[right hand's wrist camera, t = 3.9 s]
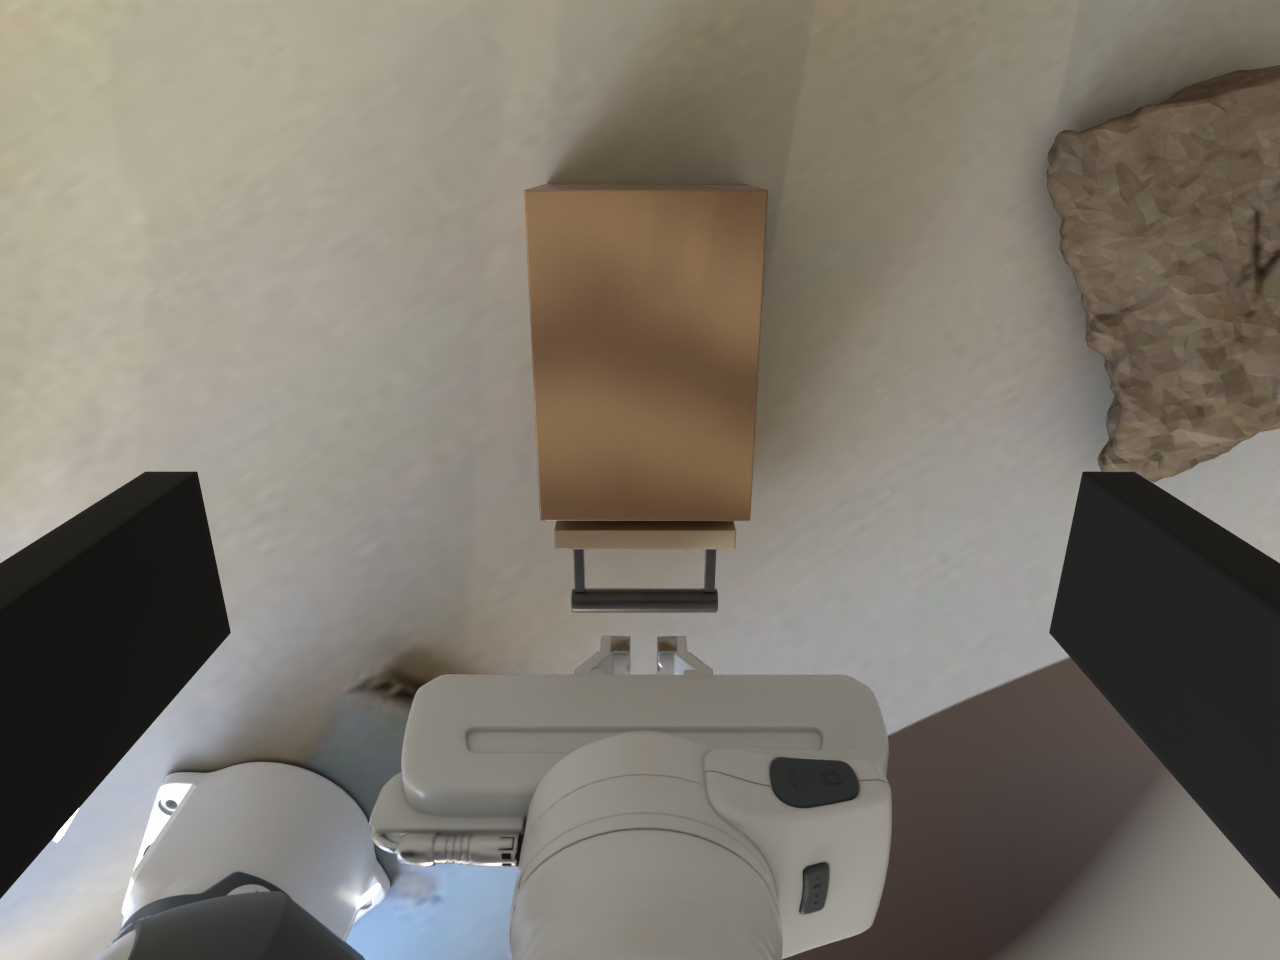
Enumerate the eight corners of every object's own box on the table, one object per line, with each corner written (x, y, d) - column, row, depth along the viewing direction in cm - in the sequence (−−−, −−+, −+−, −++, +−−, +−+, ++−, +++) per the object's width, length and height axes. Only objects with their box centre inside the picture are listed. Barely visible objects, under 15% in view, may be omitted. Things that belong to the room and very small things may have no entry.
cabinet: (733, 465, 52) (750, 521, 44) (555, 465, 52) (540, 521, 44) (746, 184, 46) (768, 189, 38) (544, 184, 46) (524, 189, 38)
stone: (1378, 418, 47) (1444, 443, 42) (1095, 480, 52) (1120, 510, 47) (1320, 41, 43) (1384, 13, 38) (1019, 147, 48) (1037, 136, 43)
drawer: (721, 584, 54) (731, 638, 48) (567, 584, 54) (558, 638, 48) (734, 251, 46) (748, 265, 40) (555, 251, 46) (542, 265, 40)
